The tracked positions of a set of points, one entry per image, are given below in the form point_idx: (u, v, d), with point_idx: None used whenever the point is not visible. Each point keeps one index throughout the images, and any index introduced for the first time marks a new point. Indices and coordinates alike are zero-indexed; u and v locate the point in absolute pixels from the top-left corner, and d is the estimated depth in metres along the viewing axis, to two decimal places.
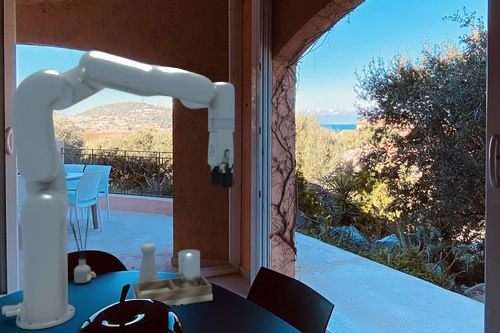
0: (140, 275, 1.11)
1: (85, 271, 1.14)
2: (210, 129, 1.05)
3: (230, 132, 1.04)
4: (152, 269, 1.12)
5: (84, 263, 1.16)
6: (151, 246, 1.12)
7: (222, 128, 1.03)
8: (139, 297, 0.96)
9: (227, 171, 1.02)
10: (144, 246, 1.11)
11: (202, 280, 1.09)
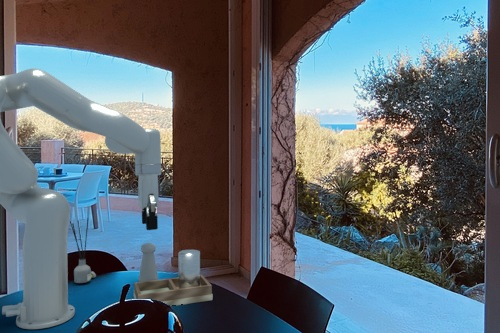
0: (140, 275, 1.11)
1: (85, 271, 1.14)
2: (136, 174, 1.10)
3: (154, 177, 1.09)
4: (152, 269, 1.12)
5: (84, 263, 1.16)
6: (151, 246, 1.12)
7: (146, 173, 1.08)
8: (139, 297, 0.96)
9: (151, 215, 1.07)
10: (144, 246, 1.11)
11: (202, 280, 1.09)
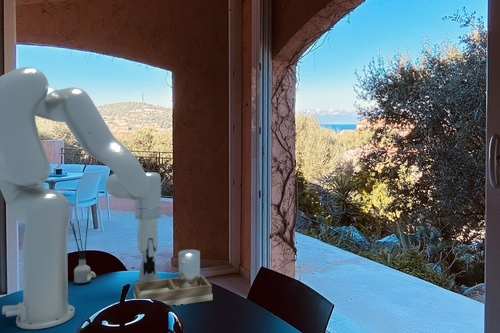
0: (140, 275, 1.11)
1: (85, 271, 1.14)
2: (136, 217, 1.10)
3: (154, 221, 1.09)
4: None
5: (84, 263, 1.16)
6: None
7: (146, 217, 1.09)
8: (139, 297, 0.96)
9: (148, 262, 1.10)
10: None
11: (202, 280, 1.09)
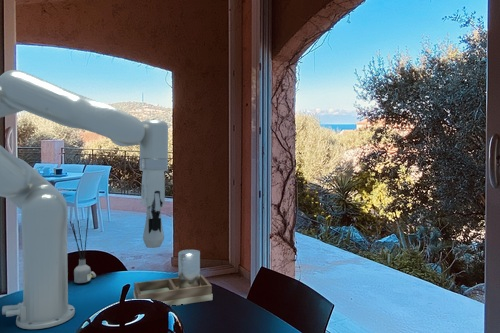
0: (145, 233, 1.01)
1: (85, 271, 1.14)
2: (141, 169, 1.00)
3: (161, 172, 0.99)
4: None
5: (84, 263, 1.16)
6: None
7: (153, 168, 0.99)
8: (139, 297, 0.96)
9: (154, 218, 1.00)
10: None
11: (202, 280, 1.09)
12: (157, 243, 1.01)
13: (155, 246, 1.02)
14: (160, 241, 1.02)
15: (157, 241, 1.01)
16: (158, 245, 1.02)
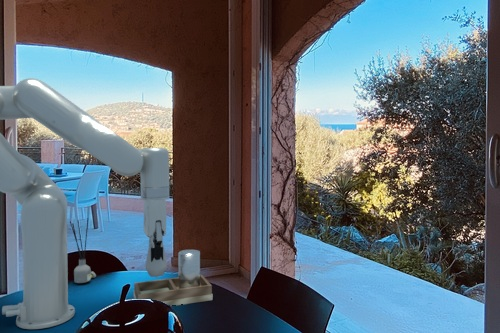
0: (147, 262, 1.00)
1: (85, 271, 1.14)
2: (142, 197, 0.99)
3: (162, 201, 0.98)
4: None
5: (84, 263, 1.16)
6: None
7: (153, 197, 0.98)
8: (139, 297, 0.96)
9: (156, 248, 0.99)
10: None
11: (202, 280, 1.09)
12: (160, 272, 1.00)
13: (158, 275, 1.00)
14: (163, 270, 1.01)
15: (160, 270, 1.00)
16: (161, 274, 1.01)
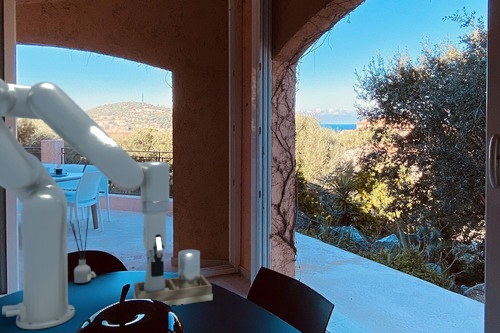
0: (146, 282, 1.00)
1: (85, 271, 1.14)
2: (142, 211, 0.99)
3: (162, 215, 0.98)
4: None
5: (84, 263, 1.16)
6: None
7: (153, 211, 0.98)
8: (139, 297, 0.96)
9: (156, 261, 0.97)
10: (150, 250, 1.00)
11: (202, 280, 1.09)
12: None
13: None
14: (161, 290, 1.00)
15: (158, 291, 1.00)
16: None
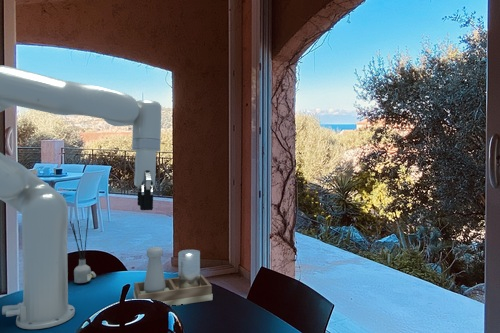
0: (146, 282, 1.00)
1: (85, 271, 1.14)
2: (133, 148, 1.01)
3: (152, 152, 0.99)
4: (160, 276, 1.00)
5: (84, 263, 1.16)
6: (158, 250, 1.00)
7: (144, 148, 0.99)
8: (139, 297, 0.96)
9: (146, 193, 0.97)
10: (150, 250, 1.00)
11: (202, 280, 1.09)
12: None
13: None
14: (161, 290, 1.00)
15: (158, 291, 1.00)
16: None
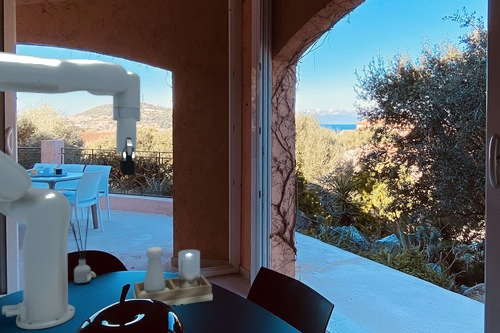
0: (146, 282, 1.00)
1: (85, 271, 1.14)
2: (114, 118, 1.06)
3: (132, 121, 1.05)
4: (160, 276, 1.00)
5: (84, 263, 1.16)
6: (158, 250, 1.00)
7: (124, 117, 1.05)
8: (139, 297, 0.96)
9: (127, 159, 1.03)
10: (150, 250, 1.00)
11: (202, 280, 1.09)
12: None
13: None
14: (161, 290, 1.00)
15: (158, 291, 1.00)
16: None
